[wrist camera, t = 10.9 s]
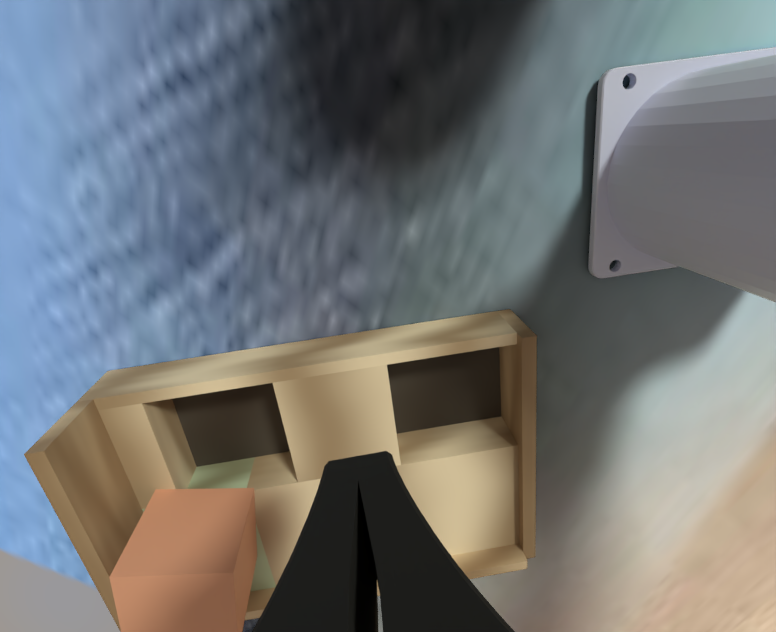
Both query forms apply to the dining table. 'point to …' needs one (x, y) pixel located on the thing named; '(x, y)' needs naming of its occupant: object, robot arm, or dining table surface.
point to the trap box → (311, 439)
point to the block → (188, 562)
